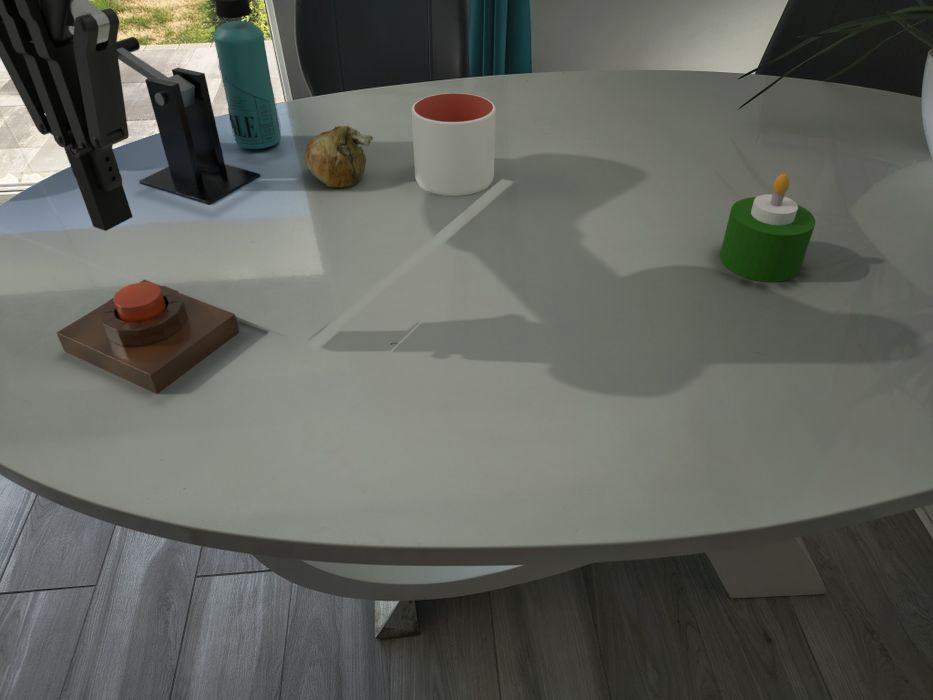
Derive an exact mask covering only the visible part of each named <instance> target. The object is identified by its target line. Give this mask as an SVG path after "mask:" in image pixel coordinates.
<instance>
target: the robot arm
mask: <svg viewBox="0 0 933 700" xmlns="http://www.w3.org/2000/svg"><path fill="white" fill-rule="evenodd" d="M119 29H120V20H119V16H118V14H117V12H116V11H115V10H114V9H113V8H109V7H108V8H103V9H98V7H96V6H95V5H94V4H93V3H92V2H91V1H90V0H0V60H1V62H2V64H3V66H4V68H5V70H6V71H7V74H8V75H9V78H10V79H11V81H12V83H13V86H14V88H15V89H16V91H17V93H18V95H19V97H20V99H21V101H22V102H23V104H24V107H25V109H26V110H27V112H28V114H29V116H30V118H31V120H32V122H33V124H34V125H35V128H36V129H37V131H38V132H39V133H40V134H41V135H42V136H45V135H48V134H50V135H51V136H53V139H54V141H55V143H56V145H58V146H59V147H61V148H63V149H64V151H65V155H66V158H67V160H68V163H69V165H70V168H71V172H72V173H73V176H74V178H75V181H76V183H77V186H78V189H79V191H80V194H81V196H82V197H81V198H82V199H83V202H84V205H85V207H86V211H87V213H88V216H89V219H90V221H91V224H92V227H93V228H95V229H99V230H102V231H104V232H107V231H109V230H110V229H112V228H114V227H117V226H118V225H120V224H122V223H124V222H126V221H128V220H130V219H132V218H134V217H133V213H132V210H131V207H130V205H129V201H128V197H127V195H126V192H125V188H124V185H123V177H122V174H121V172H120V169H119V168H120V167H119V165H118V162H117V159H116V155H115V153H114V149H113V148H114V147H113V146H114V145H116V144H118V143H120V142H122V141H125V140H127V139H129V125H128V119H127V112H126V105H125V99H124V98H125V97H124V90H123V84H122V77H121V76H122V75H121V69H120V60H119V59H118V54H117V47H116V42H117V41H118V35H119Z"/></svg>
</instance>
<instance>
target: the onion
mask: <svg viewBox="0 0 933 700" xmlns="http://www.w3.org/2000/svg"><path fill="white" fill-rule="evenodd" d="M373 139H374V137H373V136H372V135H371V134H366V133H361V132H360V131H359V130H358V129H356V128H353V127H352V126H349V125H335V126H334V128H333V129H329V130H327V131H323V132H321V133H319V134H317V135H315V136H313V137H312V138H311V139H309V141H308V143H307V145H306V148H305V152H304V153H305V154H304V161H305V165H306V167H307V168H308V169H309V171H310V172H311V174H312V175H313V176H314V177H316V178H315V179H317V180H319V182H321V183H323V184H324V185H325V186H326V187H328V188H332V189H333V188H334V189H335V188H336V189H337V188H339V189H343V188H349V187H353V186H355V185H357V184H358V183H359V182H360V181H361V179H362V178H363V176H364V173H365V170H366V164H367V157H366V154H365V153H364V149H363V146H366V147H369V146H370V145H371V142H372V141H373ZM359 145H361V146H359Z"/></svg>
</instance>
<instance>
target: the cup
mask: <svg viewBox="0 0 933 700" xmlns="http://www.w3.org/2000/svg"><path fill="white" fill-rule="evenodd" d="M411 122H412V123H411V124H412V125H411V127H412V145H413V163H414V179H415V181H416V184H417V185H418V186H419V187H420V188H421V189H422V190H424V191H426V192H427V193H430V194H434V195H438V196H445V197H462V196H469V195H473V194H478V193H480V192H482V191H484V190H486V189H487V188H489V187H490V186H491V184H492V183H493V181H494V178H495V148H496V147H495V146H496V105H495V104H494V103H493V102H492V101H491V100H489V99H488V98H486V97H483V96H480V95H476V94H471V93H464V92H445V93H436V94H433V95H428V96H425V97H423V98H421V99H419V100H417V101H415V102H414V103H413V105H412V106H411Z"/></svg>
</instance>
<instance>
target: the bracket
mask: <svg viewBox="0 0 933 700" xmlns="http://www.w3.org/2000/svg"><path fill="white" fill-rule="evenodd" d="M171 73H172V76H174V75H176V74H177V75H179V76H181V77H182V78H184V79H185V80H187V81H188V82H190V83H191V84H193V85H194V86H195V103H194V104H192V105H190V106H188V107H184V103H183V99H182V95H181V91H180V87H179V83H175V82H170V81H166V80H162V79H157V78H153V77H151V78H146V79H144V80H145V81H144V82H145V85H146V88H147V92H148V96H149V99H150V103H151V106H152V110H153V114H154V119H155V121H156V125H157V128H158V129H157V130H158V132H159V136H160V139H161V144H162V147H163V151H164V153H165V157H166V163H167V167H165V168H162V169H161V170H159V171H156V172H154V173H152V174H150V175H148V176H146V177H144V178H141V179H140V180H139V181H138V182H139V184H140V185H143V186H147V187H149V188H152V189H156V190H159V191H163V192H166V193H168V194H173V195H176V196H178V197H182V198H185V199H188V200H191V201H195V202H198V203H201V204H204V205H208V206H211V205H213V204H215V203H216V202H218V201H220V200H222V199H223V198H225V197H227V196H229V195H231V194H232V193H234V192H236V191H238V190H240V189H241V188H243V187H245V186H246V185H248V184H250V183H252V182H254V181H257V179H259V178H261V177H262V176H261V173H259V172H255V171H251V170H248V169H245V168H240V167H236V166H233V165H230V164H225V159H224V155H223V154H224V153H223V150H222V144H221V141H220V136H219V131H218V127H217V123H216V118H215V114H214V109H213V105H212V99H211V96H210V91H209V86H208V83H207V78H206V73H205V72H201V71H196V70H192V69H187V68H182V67H175V68H172V69H171Z"/></svg>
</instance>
